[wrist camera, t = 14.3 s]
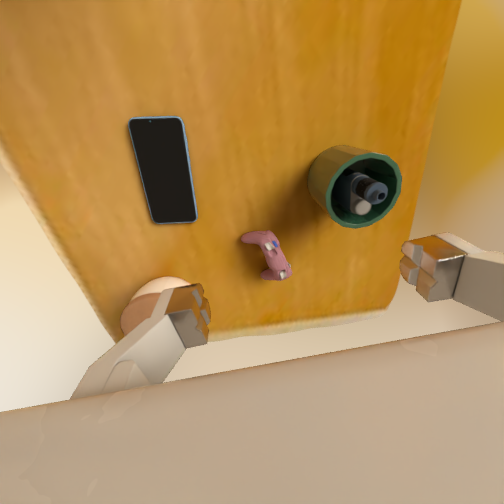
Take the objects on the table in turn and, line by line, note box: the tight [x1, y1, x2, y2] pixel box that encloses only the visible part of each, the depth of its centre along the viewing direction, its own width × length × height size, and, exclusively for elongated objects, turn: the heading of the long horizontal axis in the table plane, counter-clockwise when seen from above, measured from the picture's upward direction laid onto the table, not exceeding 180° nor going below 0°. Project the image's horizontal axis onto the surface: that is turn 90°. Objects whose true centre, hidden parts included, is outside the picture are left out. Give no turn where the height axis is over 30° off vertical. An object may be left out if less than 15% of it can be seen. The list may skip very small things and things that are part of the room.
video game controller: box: [241, 230, 292, 281], centre depth 40 cm, size 10×5×7 cm, turn 24°
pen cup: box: [307, 145, 402, 228], centre depth 33 cm, size 9×9×9 cm
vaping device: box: [332, 168, 388, 215], centre depth 31 cm, size 3×5×12 cm, turn 10°
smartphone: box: [128, 116, 198, 224], centre depth 35 cm, size 7×1×15 cm
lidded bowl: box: [120, 277, 191, 349], centre depth 41 cm, size 13×13×11 cm
